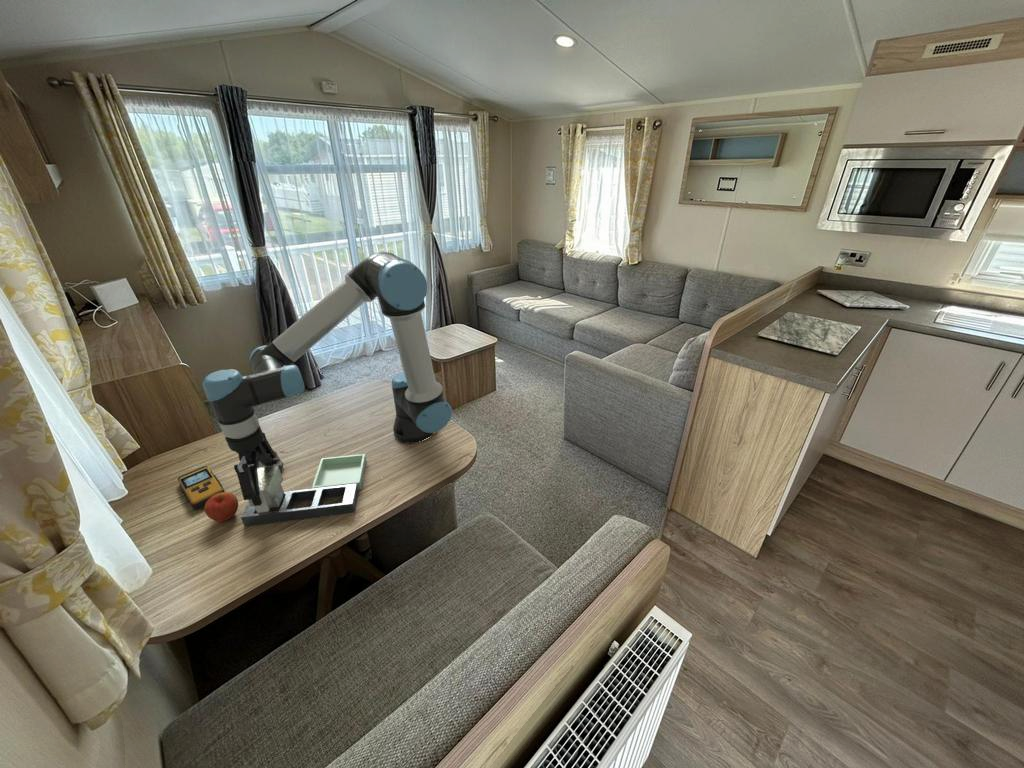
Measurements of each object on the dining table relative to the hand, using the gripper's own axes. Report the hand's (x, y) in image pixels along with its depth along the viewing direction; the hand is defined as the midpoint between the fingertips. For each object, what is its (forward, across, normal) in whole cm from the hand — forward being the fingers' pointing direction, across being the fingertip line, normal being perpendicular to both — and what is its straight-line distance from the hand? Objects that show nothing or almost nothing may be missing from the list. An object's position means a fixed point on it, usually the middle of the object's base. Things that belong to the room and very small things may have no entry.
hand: (269, 497), depth 108 cm
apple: (+6, 0, -12) cm, 14 cm away
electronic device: (+6, -12, -23) cm, 27 cm away
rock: (+6, -20, -8) cm, 22 cm away
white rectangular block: (+2, 0, 0) cm, 2 cm away
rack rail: (+6, 0, +8) cm, 10 cm away
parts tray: (+6, -11, +16) cm, 20 cm away
